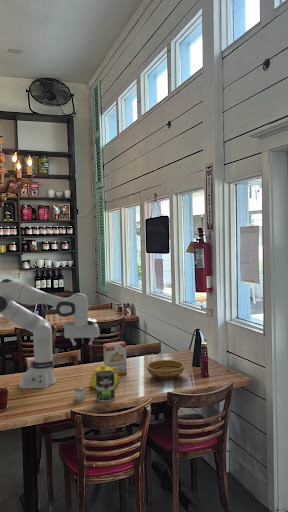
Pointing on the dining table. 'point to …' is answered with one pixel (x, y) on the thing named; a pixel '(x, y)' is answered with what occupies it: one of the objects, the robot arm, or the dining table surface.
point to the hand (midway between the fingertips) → (82, 345)
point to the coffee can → (105, 386)
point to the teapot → (103, 368)
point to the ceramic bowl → (165, 369)
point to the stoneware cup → (79, 393)
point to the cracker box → (116, 356)
